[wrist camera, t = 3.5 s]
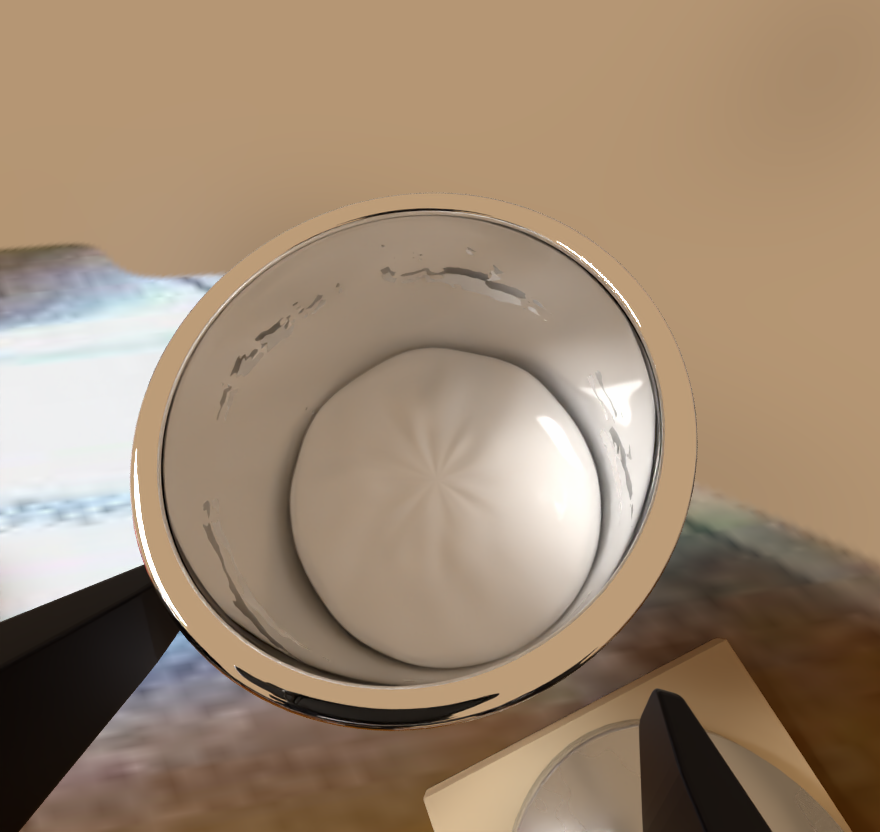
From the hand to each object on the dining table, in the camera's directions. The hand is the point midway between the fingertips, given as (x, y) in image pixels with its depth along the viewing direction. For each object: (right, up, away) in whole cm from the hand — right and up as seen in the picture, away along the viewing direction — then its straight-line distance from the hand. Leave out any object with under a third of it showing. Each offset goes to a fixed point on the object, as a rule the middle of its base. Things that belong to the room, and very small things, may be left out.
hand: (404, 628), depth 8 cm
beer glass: (+2, -2, +11) cm, 11 cm away
